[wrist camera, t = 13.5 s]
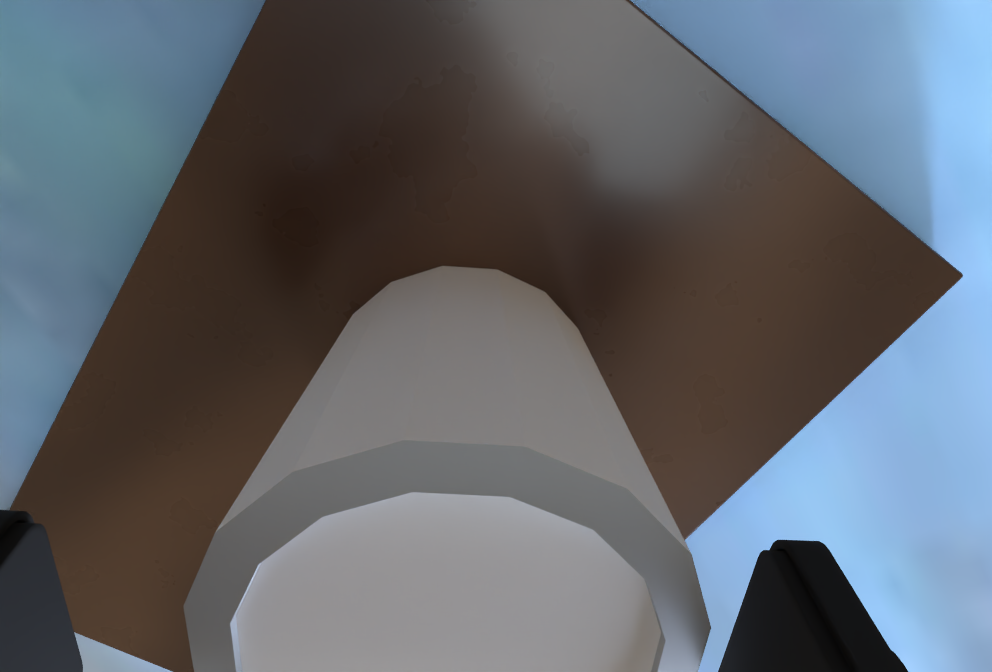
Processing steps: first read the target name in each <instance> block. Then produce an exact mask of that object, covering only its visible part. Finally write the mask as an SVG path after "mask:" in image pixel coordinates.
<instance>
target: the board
mask: <svg viewBox="0 0 992 672" xmlns="http://www.w3.org/2000/svg"><path fill="white" fill-rule="evenodd" d="M440 266H454V267H469V268H484V269H497V270H500V271H502V272H504V273H506V274H508V275H510V276H512V277H514V278H517V279H519V280H521V281H523V282H525V283H527V284H529V285H531V286H534V287H536V288H538V289H540V290H542V291H544V292H546V293H547V295H548V296H549V297H550V298H551V299H552V300H553V301H554V302H555V303H556V305H557V306H558V307H559V308H560V309H561V310H562V311H563V312H564V313H565V315H566V316H567V317H568V318H569V319H570V320H571V321H572V322H573V323H574V325H575V326H576V327H577V328H578V330H579V332H580V334H581V336H582V338H583V340H584V342H585V344H586V346H587V348H588V350H589V351H590V353H591V355H592V357H593V359H594V361H595V363H596V365H597V367H598V369H599V371H600V373H601V375H602V377H603V379H604V381H605V383H606V385H607V387H608V389H609V391H610V393H611V395H612V397H613V399H614V401H615V403H616V405H617V407H618V409H619V411H620V413H621V415H622V417H623V419H624V421H625V423H626V425H627V427H628V429H629V431H630V433H631V435H632V437H633V439H634V441H635V443H636V445H637V447H638V449H639V451H640V453H641V455H642V457H643V459H644V461H645V463H646V465H647V467H648V469H649V471H650V473H651V475H652V477H653V479H654V481H655V483H656V485H657V487H658V489H659V491H660V493H661V495H662V497H663V499H664V501H665V503H666V505H667V507H668V509H669V511H670V513H671V515H672V517H673V519H674V521H675V523H676V525H677V527H678V529H679V531H680V533H681V535H682V536H683V538H684V540H685V539H686V538H688V537H689V536H690V535H691V534H692V533H693V532H694V531H695V530H696V529H697V528H698V527H699V526H700V525H701V524H702V523H703V522H704V521H705V520H707V519H708V518H709V517H710V516H711V515H712V514H713V513H714V512H715V511H716V510H717V509H718V508H719V507H720V506H721V505H722V504H723V503H724V502H726V501H727V500H728V499H729V498H730V497H731V496H732V495H733V494H734V493H735V492H736V491H737V490H738V489H739V488H740V487H741V486H742V485H743V484H745V483H746V482H747V481H748V480H749V479H750V478H751V477H752V476H753V475H754V474H755V473H756V472H757V471H758V470H759V469H760V468H761V467H762V466H764V465H765V464H766V463H767V462H768V461H769V460H770V459H771V458H772V457H773V456H774V455H775V454H776V453H777V452H778V451H779V450H780V449H781V448H783V447H784V446H785V445H786V444H787V443H788V442H789V441H790V440H791V439H792V438H793V437H794V436H795V435H796V434H797V433H798V432H799V431H800V430H802V429H803V428H804V427H805V426H806V425H807V424H808V423H809V422H810V421H811V420H812V419H813V418H814V417H815V416H816V415H817V414H818V413H819V412H821V411H822V410H823V409H824V408H825V407H826V406H827V405H828V404H829V403H830V402H831V401H832V400H833V399H834V398H835V397H836V396H837V395H838V394H840V393H841V392H842V391H843V390H844V389H845V388H846V387H847V386H848V385H849V384H850V383H851V382H852V381H853V380H854V379H855V378H856V377H857V376H859V375H860V374H861V373H862V372H863V371H864V370H865V369H866V368H867V367H868V366H869V365H870V364H871V363H872V362H873V361H874V360H875V359H876V358H878V357H879V356H880V355H881V354H882V353H883V352H884V351H885V350H886V349H887V348H888V347H889V346H890V345H891V344H892V343H893V342H894V341H895V340H897V339H898V338H899V337H900V336H901V335H902V334H903V333H904V332H905V331H906V330H907V329H908V328H909V327H910V326H911V325H912V324H913V323H914V322H916V321H917V320H918V319H919V318H920V317H921V316H922V315H923V314H924V313H925V312H926V311H927V310H928V309H929V308H930V307H931V306H932V305H933V304H935V303H936V302H937V301H938V300H939V299H940V298H941V297H942V296H943V295H944V294H945V293H946V292H947V291H948V290H949V289H950V288H951V287H952V286H954V285H955V284H956V283H957V282H958V281H959V280H960V279H961V278H962V277H963V274H962V273H961V272H960V271H958V270H957V269H956V268H955V267H953V266H952V265H951V264H950V263H949V262H947V261H946V260H945V259H944V258H943V257H941V256H940V255H939V254H938V253H936V252H935V251H934V250H933V249H932V248H930V247H929V246H928V245H927V244H926V243H924V242H923V241H922V240H921V239H919V238H918V237H917V236H916V235H915V234H913V233H912V232H911V231H910V230H908V229H907V228H906V227H905V226H904V225H902V224H901V223H900V222H899V221H898V220H896V219H895V218H894V217H893V216H891V215H890V214H889V213H888V212H887V211H885V210H884V209H883V208H882V207H881V206H879V205H878V204H877V203H876V202H874V201H873V200H872V199H871V198H870V197H868V196H867V195H866V194H865V193H864V192H862V191H861V190H860V189H859V188H857V187H856V186H855V185H854V184H853V183H851V182H850V181H849V180H848V179H846V178H845V177H844V176H843V175H842V174H840V173H839V172H838V171H837V170H836V169H834V168H833V167H832V166H831V165H829V164H828V163H827V162H826V161H825V160H823V159H822V158H821V157H820V156H819V155H817V154H816V153H815V152H814V151H812V150H811V149H810V148H809V147H808V146H806V145H805V144H804V143H803V142H802V141H800V140H799V139H798V138H797V137H795V136H794V135H793V134H792V133H791V132H789V131H788V130H787V129H786V128H784V127H783V126H782V125H781V124H780V123H778V122H777V121H776V120H775V119H774V118H772V117H771V116H770V115H769V114H767V113H766V112H765V111H764V110H763V109H761V108H760V107H759V106H758V105H757V104H755V103H754V102H753V101H752V100H750V99H749V98H748V97H747V96H746V95H744V94H743V93H742V92H741V91H739V90H738V89H737V88H736V87H735V86H733V85H732V84H731V83H730V82H729V81H727V80H726V79H725V78H724V77H722V76H721V75H720V74H719V73H718V72H716V71H715V70H714V69H713V68H712V67H710V66H709V65H708V64H707V63H705V62H704V61H703V60H702V59H701V58H699V57H698V56H697V55H696V54H695V53H693V52H692V51H691V50H690V49H688V48H687V47H686V46H685V45H684V44H682V43H681V42H680V41H679V40H677V39H676V38H675V37H674V36H673V35H671V34H670V33H669V32H668V31H667V30H665V29H664V28H663V27H662V26H660V25H659V24H658V23H657V22H656V21H654V20H653V19H652V18H651V17H650V16H648V15H647V14H646V13H645V12H643V11H642V10H641V9H640V8H639V7H637V6H636V5H635V4H634V3H633V2H631V1H630V0H266V1H265V3H264V5H263V7H262V9H261V11H260V13H259V15H258V17H257V19H256V21H255V23H254V25H253V27H252V29H251V31H250V33H249V35H248V37H247V39H246V41H245V42H244V44H243V46H242V48H241V50H240V52H239V54H238V56H237V58H236V60H235V62H234V64H233V66H232V68H231V70H230V72H229V74H228V76H227V78H226V80H225V82H224V84H223V86H222V88H221V90H220V92H219V94H218V96H217V98H216V100H215V102H214V104H213V106H212V108H211V110H210V112H209V114H208V116H207V118H206V120H205V122H204V124H203V126H202V128H201V130H200V132H199V134H198V136H197V138H196V140H195V142H194V144H193V146H192V148H191V150H190V152H189V154H188V156H187V158H186V160H185V162H184V164H183V166H182V168H181V170H180V172H179V174H178V176H177V178H176V180H175V182H174V184H173V186H172V188H171V190H170V192H169V193H168V195H167V197H166V199H165V201H164V203H163V205H162V207H161V209H160V211H159V213H158V215H157V217H156V219H155V221H154V223H153V225H152V227H151V229H150V231H149V233H148V235H147V237H146V239H145V241H144V243H143V245H142V247H141V249H140V251H139V253H138V255H137V257H136V259H135V261H134V263H133V265H132V267H131V269H130V271H129V273H128V275H127V277H126V279H125V281H124V283H123V285H122V287H121V289H120V291H119V293H118V295H117V297H116V299H115V301H114V303H113V305H112V307H111V309H110V311H109V313H108V315H107V317H106V319H105V321H104V323H103V325H102V327H101V329H100V331H99V333H98V335H97V337H96V339H95V341H94V343H93V344H92V346H91V348H90V350H89V352H88V354H87V356H86V358H85V360H84V362H83V364H82V366H81V368H80V370H79V372H78V374H77V376H76V378H75V380H74V382H73V384H72V386H71V388H70V390H69V392H68V394H67V396H66V398H65V400H64V402H63V404H62V406H61V408H60V410H59V412H58V414H57V416H56V418H55V420H54V422H53V424H52V426H51V428H50V430H49V432H48V434H47V436H46V438H45V440H44V442H43V444H42V446H41V448H40V450H39V452H38V454H37V456H36V458H35V460H34V462H33V464H32V466H31V468H30V470H29V472H28V474H27V476H26V478H25V480H24V482H23V484H22V486H21V488H20V490H19V492H18V494H17V496H16V497H15V499H14V501H13V503H12V505H11V507H10V509H9V511H26V512H28V513H29V514H30V515H31V516H32V518H33V520H34V523H38V524H42V525H43V526H44V527H45V529H46V532H47V535H48V539H49V543H50V546H51V550H52V554H53V557H54V561H55V565H56V568H57V572H58V576H59V579H60V583H61V587H62V590H63V594H64V597H65V601H66V605H67V608H68V612H69V616H70V619H71V623H72V627H73V630H74V632H75V633H78V634H80V635H83V636H85V637H88V638H90V639H93V640H95V641H98V642H100V643H103V644H105V645H108V646H110V647H113V648H115V649H118V650H120V651H123V652H125V653H128V654H130V655H133V656H135V657H138V658H140V659H143V660H145V661H148V662H150V663H153V664H155V665H158V666H160V667H163V668H165V669H168V670H170V671H173V672H194V668H193V662H192V656H191V650H190V644H189V638H188V632H187V626H186V620H185V614H184V607H183V606H184V603H185V601H186V599H187V596H188V594H189V592H190V589H191V587H192V585H193V583H194V580H195V578H196V576H197V573H198V571H199V569H200V566H201V564H202V562H203V559H204V557H205V555H206V552H207V550H208V548H209V545H210V543H211V541H212V539H213V536H214V534H215V532H216V530H217V529H218V527H219V525H220V524H221V522H222V521H223V519H224V518H225V516H226V514H227V513H228V511H229V510H230V508H231V506H232V505H233V503H234V502H235V500H236V499H237V497H238V495H239V494H240V492H241V491H242V489H243V487H244V486H245V484H246V483H247V481H248V480H249V478H250V476H251V475H252V473H253V472H254V470H255V468H256V467H257V465H258V464H259V462H260V461H261V459H262V457H263V456H264V454H265V453H266V451H267V449H268V448H269V446H270V445H271V443H272V442H273V440H274V438H275V437H276V435H277V434H278V432H279V431H280V429H281V427H282V426H283V424H284V423H285V421H286V419H287V418H288V416H289V415H290V413H291V412H292V410H293V408H294V407H295V405H296V404H297V402H298V400H299V399H300V397H301V396H302V394H303V393H304V391H305V389H306V388H307V386H308V385H309V383H310V381H311V380H312V378H313V377H314V375H315V374H316V372H317V370H318V369H319V367H320V366H321V364H322V362H323V361H324V359H325V358H326V356H327V355H328V353H329V351H330V350H331V348H332V347H333V345H334V343H335V342H336V340H337V339H338V337H339V336H340V334H341V332H342V331H343V329H344V328H345V326H346V324H347V323H348V321H349V320H350V318H351V317H352V315H353V314H354V313H355V312H356V311H357V310H359V309H360V308H361V307H362V306H363V305H364V304H366V303H367V302H368V301H369V300H370V299H372V298H373V297H374V296H375V295H376V294H377V293H379V292H380V291H381V290H382V289H383V288H385V287H386V286H387V285H388V284H389V283H390V282H392V281H396V280H399V279H402V278H405V277H408V276H411V275H415V274H418V273H421V272H424V271H427V270H431V269H434V268H437V267H440Z"/></svg>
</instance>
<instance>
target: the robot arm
mask: <svg viewBox="0 0 992 672" xmlns="http://www.w3.org/2000/svg"><path fill="white" fill-rule="evenodd" d="M0 672H83V665H82V660H81V656H80V652H79V649H78V645H77V641H76V638H75V634H74V630H73V627H72V623H71V619H70V616H69V612H68V608H67V605H66V601H65V597H64V594H63V590H62V587H61V583H60V579H59V576H58V572H57V568H56V565H55V561H54V557H53V554H52V550H51V546H50V543H49V539H48V535H47V532H46V529H45V527H44V526H43V525H42V524H38V523H34V520H33V518H32V516H31V515H30V514H29V513H28V512H26V511H9V510H0ZM718 672H908V671H907V669H906V667H905V666H904V664H903V663H902V662H901V660H900V659H899V658H898V657H897V655H896V654H895V653H894V652H893V651H891V650H890V648H889V647H888V645H887V643H886V642H885V640H884V638H883V637H882V635H881V634H880V632H879V630H878V629H877V627H876V625H875V624H874V622H873V621H872V619H871V617H870V616H869V614H868V612H867V611H866V609H865V608H864V606H863V604H862V603H861V601H860V599H859V598H858V596H857V595H856V593H855V591H854V590H853V588H852V586H851V585H850V583H849V582H848V580H847V578H846V577H845V575H844V573H843V572H842V570H841V569H840V567H839V565H838V564H837V562H836V560H835V559H834V557H833V556H832V554H831V552H830V551H829V549H828V548H827V547H826V546H825V544H823V543H821V542H820V541H797V540H777V541H775V542H774V543H773V544H772V546H771V548H770V550H763V551H762V552H761V553H760V555H759V557H758V559H757V562H756V565H755V568H754V571H753V574H752V577H751V579H750V582H749V585H748V588H747V591H746V594H745V597H744V599H743V602H742V605H741V608H740V611H739V614H738V617H737V619H736V622H735V625H734V628H733V631H732V634H731V637H730V640H729V642H728V645H727V648H726V651H725V654H724V657H723V660H722V662H721V665H720V668H719V671H718Z"/></svg>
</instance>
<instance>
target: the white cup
mask: <svg viewBox="0 0 992 672" xmlns="http://www.w3.org/2000/svg"><path fill="white" fill-rule="evenodd" d="M183 607H184V614H185V620H186V626H187V632H188V638H189V644H190V650H191V656H192V662H193V668H194V672H698V669H699V666H700V663H701V659H702V656H703V653H704V649H705V646H706V643H707V639H708V636H709V633H710V630H711V626H710V622H709V618H708V614H707V611H706V607H705V603H704V599H703V596H702V592H701V588H700V584H699V581H698V577H697V573H696V569H695V566H694V562H693V558H692V554H691V552H690V550H689V548H688V546H687V544H686V542H685V540H684V538H683V536H682V535H681V533H680V531H679V529H678V527H677V525H676V523H675V521H674V519H673V517H672V515H671V513H670V511H669V509H668V507H667V505H666V503H665V501H664V499H663V497H662V495H661V493H660V491H659V489H658V487H657V485H656V483H655V481H654V479H653V477H652V475H651V473H650V471H649V469H648V467H647V465H646V463H645V461H644V459H643V457H642V455H641V453H640V451H639V449H638V447H637V445H636V443H635V441H634V439H633V437H632V435H631V433H630V431H629V429H628V427H627V425H626V423H625V421H624V419H623V417H622V415H621V413H620V411H619V409H618V407H617V405H616V403H615V401H614V399H613V397H612V395H611V393H610V391H609V389H608V387H607V385H606V383H605V381H604V379H603V377H602V375H601V373H600V371H599V369H598V367H597V365H596V363H595V361H594V359H593V357H592V355H591V353H590V351H589V350H588V348H587V346H586V344H585V342H584V340H583V338H582V336H581V334H580V332H579V330H578V328H577V327H576V326H575V325H574V323H573V322H572V321H571V320H570V319H569V318H568V317H567V316H566V315H565V313H564V312H563V311H562V310H561V309H560V308H559V307H558V306H557V305H556V303H555V302H554V301H553V300H552V299H551V298H550V297H549V296H548V295H547V293H546V292H544V291H542V290H540V289H538V288H536V287H534V286H531V285H529V284H527V283H525V282H523V281H521V280H519V279H517V278H514V277H512V276H510V275H508V274H506V273H504V272H502V271H500V270H497V269H484V268H469V267H454V266H440V267H437V268H434V269H431V270H427V271H424V272H421V273H418V274H415V275H411V276H408V277H405V278H402V279H399V280H396V281H392V282H390V283H389V284H388V285H387V286H386V287H385V288H383V289H382V290H381V291H380V292H379V293H377V294H376V295H375V296H374V297H373V298H372V299H370V300H369V301H368V302H367V303H366V304H364V305H363V306H362V307H361V308H360V309H359V310H357V311H356V312H355V313H354V314H353V315H352V317H351V318H350V320H349V321H348V323H347V324H346V326H345V328H344V329H343V331H342V332H341V334H340V336H339V337H338V339H337V340H336V342H335V343H334V345H333V347H332V348H331V350H330V351H329V353H328V355H327V356H326V358H325V359H324V361H323V362H322V364H321V366H320V367H319V369H318V370H317V372H316V374H315V375H314V377H313V378H312V380H311V381H310V383H309V385H308V386H307V388H306V389H305V391H304V393H303V394H302V396H301V397H300V399H299V400H298V402H297V404H296V405H295V407H294V408H293V410H292V412H291V413H290V415H289V416H288V418H287V419H286V421H285V423H284V424H283V426H282V427H281V429H280V431H279V432H278V434H277V435H276V437H275V438H274V440H273V442H272V443H271V445H270V446H269V448H268V449H267V451H266V453H265V454H264V456H263V457H262V459H261V461H260V462H259V464H258V465H257V467H256V468H255V470H254V472H253V473H252V475H251V476H250V478H249V480H248V481H247V483H246V484H245V486H244V487H243V489H242V491H241V492H240V494H239V495H238V497H237V499H236V500H235V502H234V503H233V505H232V506H231V508H230V510H229V511H228V513H227V514H226V516H225V518H224V519H223V521H222V522H221V524H220V525H219V527H218V529H217V530H216V532H215V534H214V536H213V539H212V541H211V543H210V545H209V548H208V550H207V552H206V555H205V557H204V559H203V562H202V564H201V566H200V569H199V571H198V573H197V576H196V578H195V580H194V583H193V585H192V587H191V589H190V592H189V594H188V596H187V599H186V601H185V603H184V606H183Z"/></svg>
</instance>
